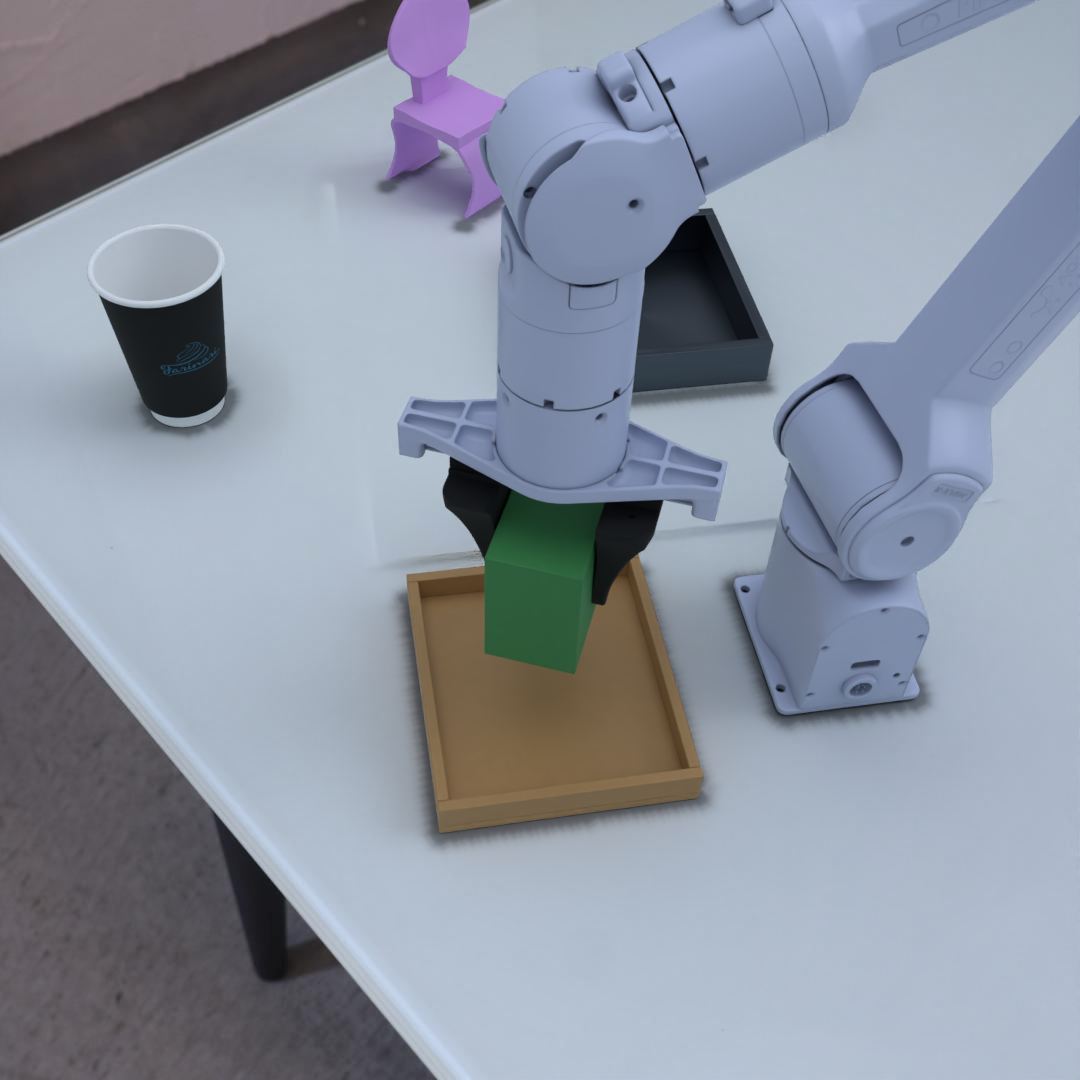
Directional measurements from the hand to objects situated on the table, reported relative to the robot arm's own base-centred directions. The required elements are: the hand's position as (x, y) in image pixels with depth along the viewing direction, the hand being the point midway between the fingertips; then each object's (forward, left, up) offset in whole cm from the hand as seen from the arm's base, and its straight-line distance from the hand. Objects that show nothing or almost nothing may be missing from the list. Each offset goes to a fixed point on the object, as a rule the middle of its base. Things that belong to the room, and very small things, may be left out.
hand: (552, 578), depth 64 cm
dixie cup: (+26, +19, -9) cm, 33 cm away
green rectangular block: (0, 0, -2) cm, 2 cm away
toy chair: (+48, -1, -9) cm, 48 cm away
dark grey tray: (+30, -12, -9) cm, 33 cm away
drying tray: (0, 0, -9) cm, 9 cm away
